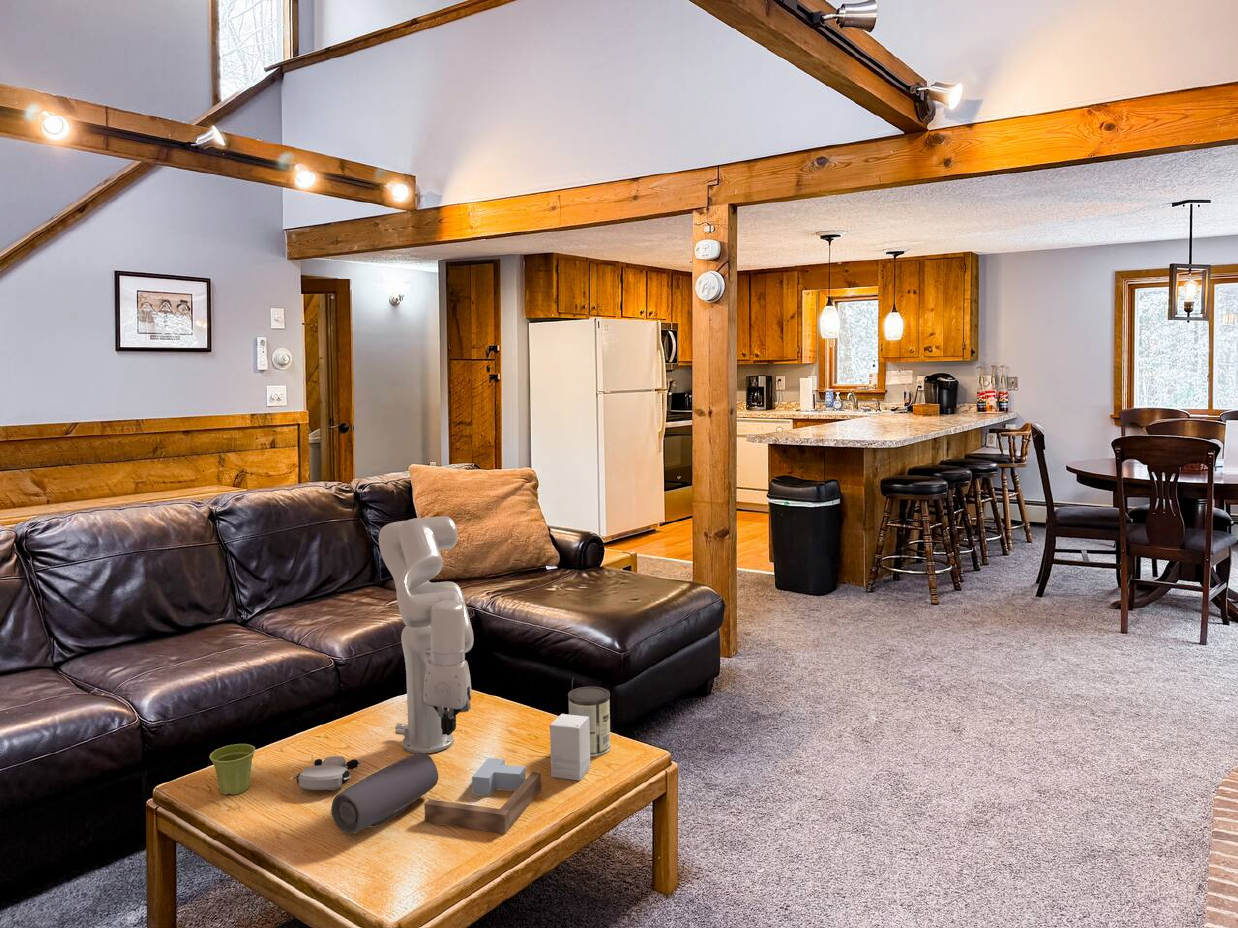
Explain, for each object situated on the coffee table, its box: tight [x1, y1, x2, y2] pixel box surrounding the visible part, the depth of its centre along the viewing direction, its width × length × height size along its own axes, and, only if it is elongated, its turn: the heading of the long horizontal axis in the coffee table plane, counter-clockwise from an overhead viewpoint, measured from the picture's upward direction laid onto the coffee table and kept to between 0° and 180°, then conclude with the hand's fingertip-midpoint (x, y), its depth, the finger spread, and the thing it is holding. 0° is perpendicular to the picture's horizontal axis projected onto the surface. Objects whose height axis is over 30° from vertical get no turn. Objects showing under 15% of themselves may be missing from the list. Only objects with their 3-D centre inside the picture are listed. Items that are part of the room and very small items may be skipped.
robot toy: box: [289, 755, 363, 791], centre depth 206 cm, size 12×4×15 cm
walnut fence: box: [424, 771, 542, 834], centre depth 194 cm, size 18×20×4 cm
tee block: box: [471, 757, 527, 796], centre depth 203 cm, size 10×10×4 cm
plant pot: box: [209, 743, 256, 796], centre depth 202 cm, size 9×9×9 cm
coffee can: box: [567, 686, 611, 758], centre depth 222 cm, size 10×10×14 cm
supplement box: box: [549, 713, 591, 782], centre depth 209 cm, size 7×7×13 cm
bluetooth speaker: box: [330, 753, 439, 835], centre depth 190 cm, size 23×9×10 cm, turn 149°
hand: (448, 732), depth 206 cm, fingers closed
